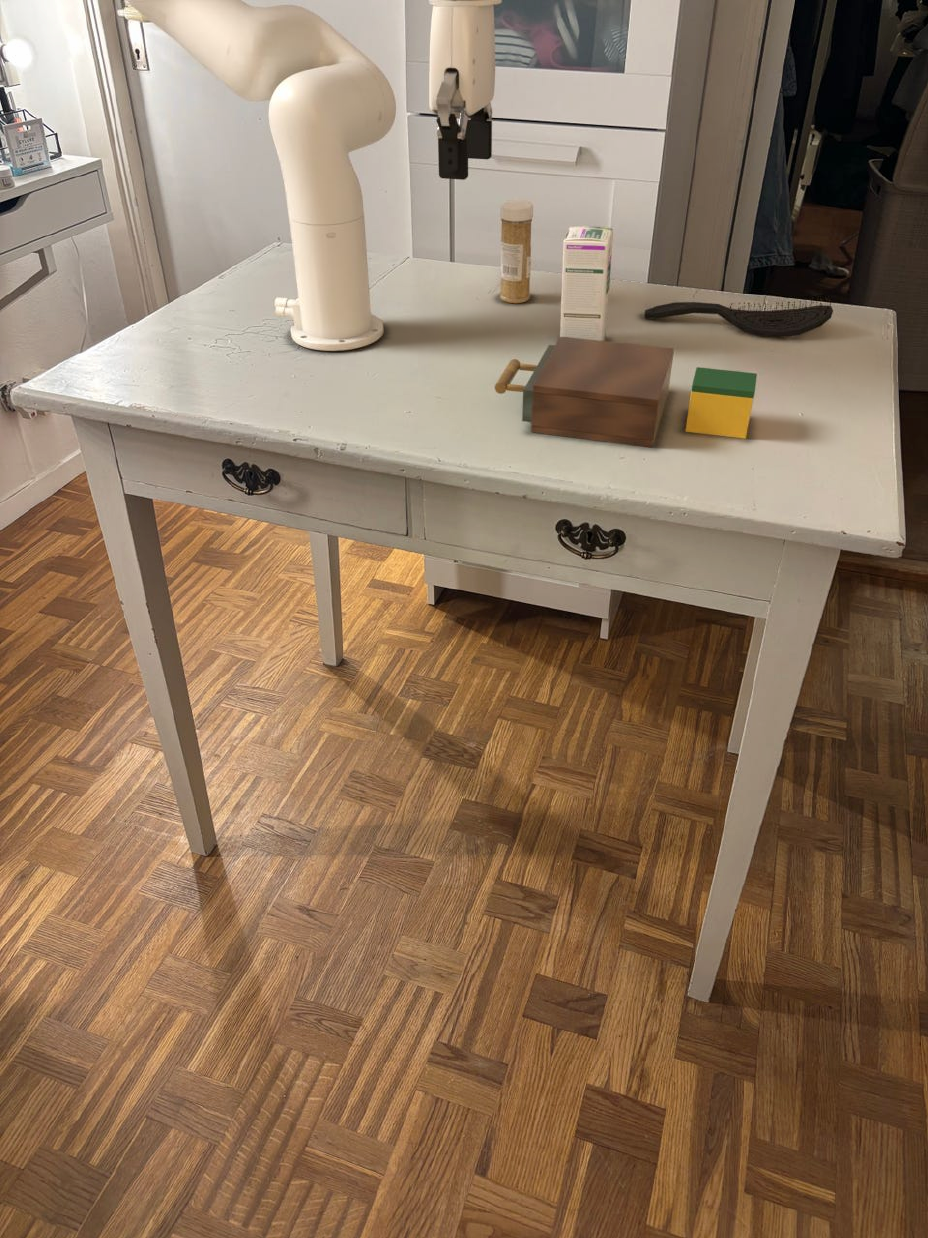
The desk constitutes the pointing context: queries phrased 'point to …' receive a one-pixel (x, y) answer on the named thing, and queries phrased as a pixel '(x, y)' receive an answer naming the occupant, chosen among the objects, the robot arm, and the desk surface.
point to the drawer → (527, 390)
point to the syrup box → (586, 282)
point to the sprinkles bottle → (515, 250)
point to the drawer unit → (602, 391)
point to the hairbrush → (753, 317)
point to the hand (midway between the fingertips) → (466, 167)
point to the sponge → (721, 402)
